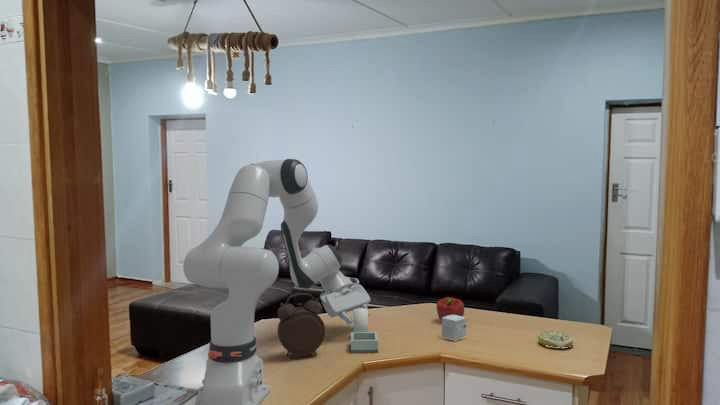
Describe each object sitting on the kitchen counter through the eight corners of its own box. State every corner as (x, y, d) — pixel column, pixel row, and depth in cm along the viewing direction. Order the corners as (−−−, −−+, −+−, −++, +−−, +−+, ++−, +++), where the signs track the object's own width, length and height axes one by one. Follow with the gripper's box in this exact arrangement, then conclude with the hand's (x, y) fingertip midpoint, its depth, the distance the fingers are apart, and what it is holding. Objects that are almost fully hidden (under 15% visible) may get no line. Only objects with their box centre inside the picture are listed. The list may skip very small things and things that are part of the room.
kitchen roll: (368, 340, 179) (368, 311, 178) (353, 340, 179) (353, 312, 178) (368, 335, 184) (367, 307, 183) (353, 336, 184) (353, 308, 183)
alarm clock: (319, 348, 172) (318, 288, 170) (326, 356, 165) (325, 293, 163) (275, 355, 166) (274, 292, 165) (280, 363, 160) (279, 298, 158)
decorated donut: (565, 353, 166) (565, 341, 165) (532, 346, 173) (532, 334, 172) (577, 344, 173) (577, 333, 173) (545, 337, 180) (545, 327, 180)
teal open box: (377, 352, 167) (377, 340, 167) (351, 353, 167) (350, 340, 167) (376, 343, 176) (376, 331, 176) (351, 343, 176) (351, 332, 176)
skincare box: (455, 342, 177) (455, 320, 176) (441, 338, 181) (441, 317, 181) (466, 338, 181) (466, 317, 180) (452, 334, 185) (452, 313, 185)
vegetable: (463, 327, 192) (463, 300, 192) (435, 325, 195) (435, 299, 194) (464, 319, 203) (464, 293, 202) (437, 317, 205) (437, 292, 205)
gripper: (322, 288, 177) (345, 322, 172) (360, 277, 193) (381, 308, 188) (313, 299, 180) (334, 332, 175) (350, 288, 196) (372, 318, 191)
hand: (359, 319), depth 182 cm, fingers open, 8 cm apart
